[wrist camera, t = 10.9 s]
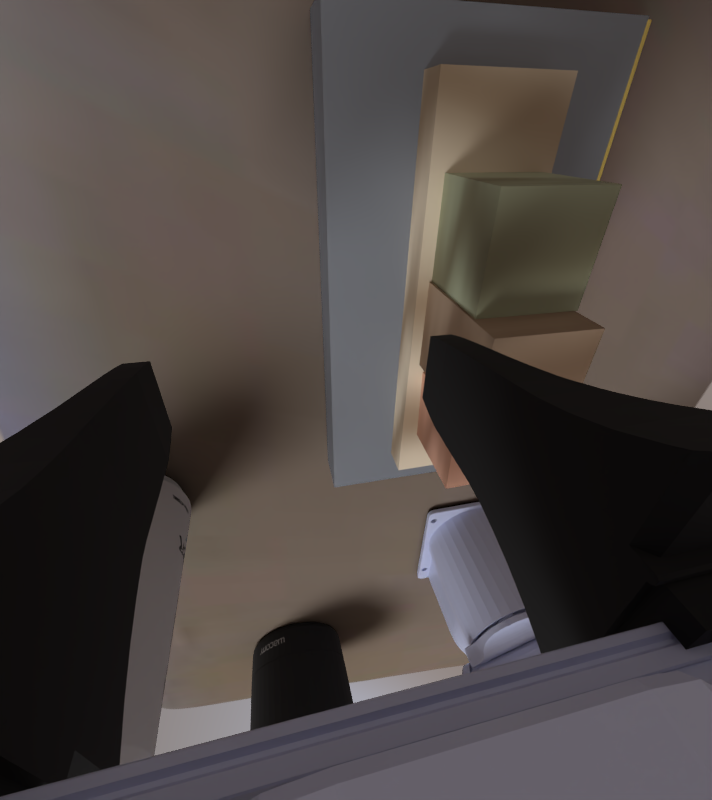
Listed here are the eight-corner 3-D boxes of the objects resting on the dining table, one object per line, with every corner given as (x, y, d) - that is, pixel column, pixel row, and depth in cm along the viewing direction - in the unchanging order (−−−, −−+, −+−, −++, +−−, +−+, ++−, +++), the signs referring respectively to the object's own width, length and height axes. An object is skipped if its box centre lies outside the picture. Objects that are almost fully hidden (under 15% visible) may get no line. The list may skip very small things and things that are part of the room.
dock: (496, 435, 29) (515, 458, 27) (328, 460, 27) (334, 487, 25) (612, 30, 16) (662, 16, 14) (310, 9, 14) (320, -11, 12)
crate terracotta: (484, 423, 22) (523, 474, 19) (416, 434, 21) (446, 488, 18) (497, 361, 20) (545, 407, 17) (422, 371, 19) (457, 421, 16)
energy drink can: (161, 539, 27) (93, 861, 15) (68, 510, 24) (-111, 888, 12) (211, 487, 26) (178, 804, 14) (118, 448, 22) (-32, 817, 10)
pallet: (466, 441, 25) (529, 534, 19) (391, 453, 24) (434, 553, 18) (551, 75, 14) (739, 43, 9) (424, 69, 14) (545, 30, 8)
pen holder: (345, 611, 39) (370, 737, 31) (337, 655, 44) (356, 773, 36) (247, 627, 36) (246, 768, 28) (250, 672, 42) (251, 802, 34)
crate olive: (516, 276, 17) (577, 310, 14) (431, 282, 16) (475, 319, 13) (542, 171, 15) (621, 184, 12) (445, 173, 14) (501, 186, 11)
